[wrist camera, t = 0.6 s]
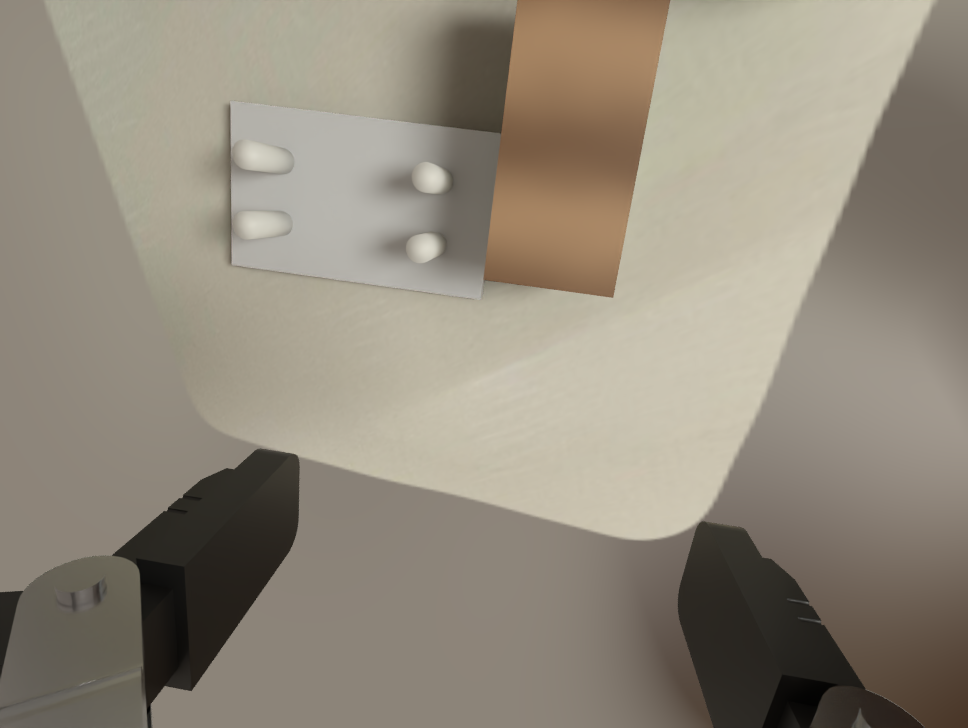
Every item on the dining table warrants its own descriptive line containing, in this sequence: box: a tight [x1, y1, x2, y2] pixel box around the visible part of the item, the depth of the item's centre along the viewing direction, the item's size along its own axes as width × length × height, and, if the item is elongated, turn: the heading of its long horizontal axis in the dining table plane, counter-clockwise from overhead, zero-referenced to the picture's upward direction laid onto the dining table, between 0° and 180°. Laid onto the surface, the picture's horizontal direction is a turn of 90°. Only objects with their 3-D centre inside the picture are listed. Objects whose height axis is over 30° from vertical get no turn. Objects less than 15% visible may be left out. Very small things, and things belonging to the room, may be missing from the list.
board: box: [483, 0, 670, 298], centre depth 25 cm, size 13×6×3 cm, turn 173°
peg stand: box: [230, 101, 501, 300], centre depth 30 cm, size 9×15×5 cm, turn 83°
